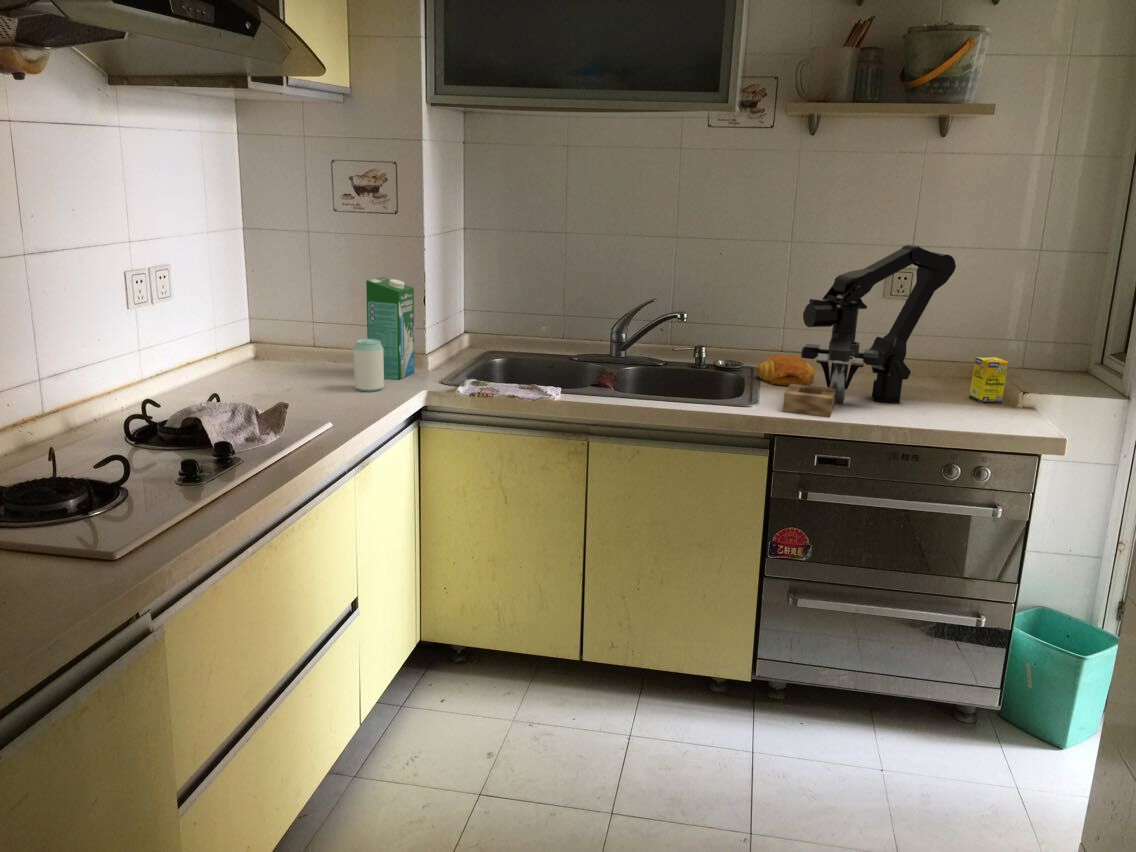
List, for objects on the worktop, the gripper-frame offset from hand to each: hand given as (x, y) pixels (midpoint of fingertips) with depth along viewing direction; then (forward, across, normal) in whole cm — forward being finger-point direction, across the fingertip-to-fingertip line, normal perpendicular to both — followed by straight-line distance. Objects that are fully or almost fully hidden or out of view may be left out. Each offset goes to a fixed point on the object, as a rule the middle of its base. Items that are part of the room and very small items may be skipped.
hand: (837, 388), depth 239 cm
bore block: (+4, -6, -10) cm, 12 cm away
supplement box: (+4, +36, +21) cm, 42 cm away
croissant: (+4, -15, +18) cm, 24 cm away
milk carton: (+4, -111, -27) cm, 114 cm away
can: (+4, -108, -43) cm, 116 cm away
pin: (+4, 0, 0) cm, 4 cm away
